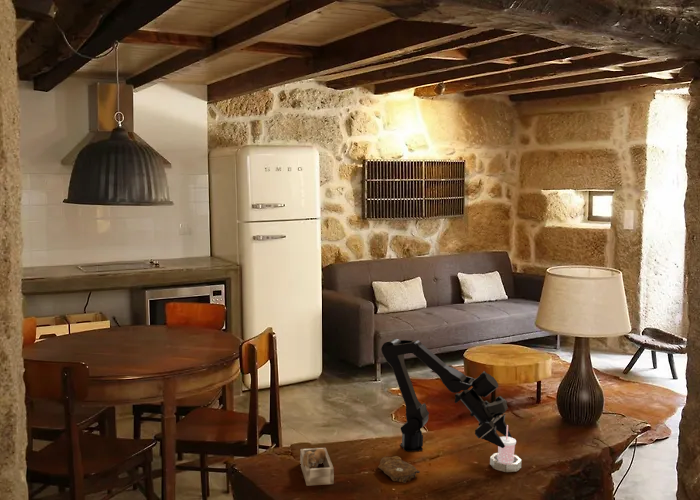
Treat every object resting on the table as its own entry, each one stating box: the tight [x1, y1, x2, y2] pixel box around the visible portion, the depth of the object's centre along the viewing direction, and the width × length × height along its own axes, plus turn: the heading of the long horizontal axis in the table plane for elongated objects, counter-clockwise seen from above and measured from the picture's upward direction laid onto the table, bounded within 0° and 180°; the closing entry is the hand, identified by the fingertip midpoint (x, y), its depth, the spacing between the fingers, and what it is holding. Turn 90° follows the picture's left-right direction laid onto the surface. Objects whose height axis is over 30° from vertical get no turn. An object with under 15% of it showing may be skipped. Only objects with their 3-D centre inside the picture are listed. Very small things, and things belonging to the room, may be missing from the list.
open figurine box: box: [299, 447, 335, 487], centre depth 226 cm, size 8×16×5 cm, turn 11°
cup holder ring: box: [489, 452, 523, 473], centre depth 235 cm, size 10×10×2 cm
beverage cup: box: [497, 424, 517, 463], centre depth 235 cm, size 6×6×14 cm
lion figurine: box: [303, 449, 326, 469], centre depth 226 cm, size 15×5×9 cm, turn 161°
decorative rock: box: [377, 455, 420, 484], centre depth 228 cm, size 11×4×15 cm
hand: (507, 442), depth 234 cm, fingers open, 9 cm apart
